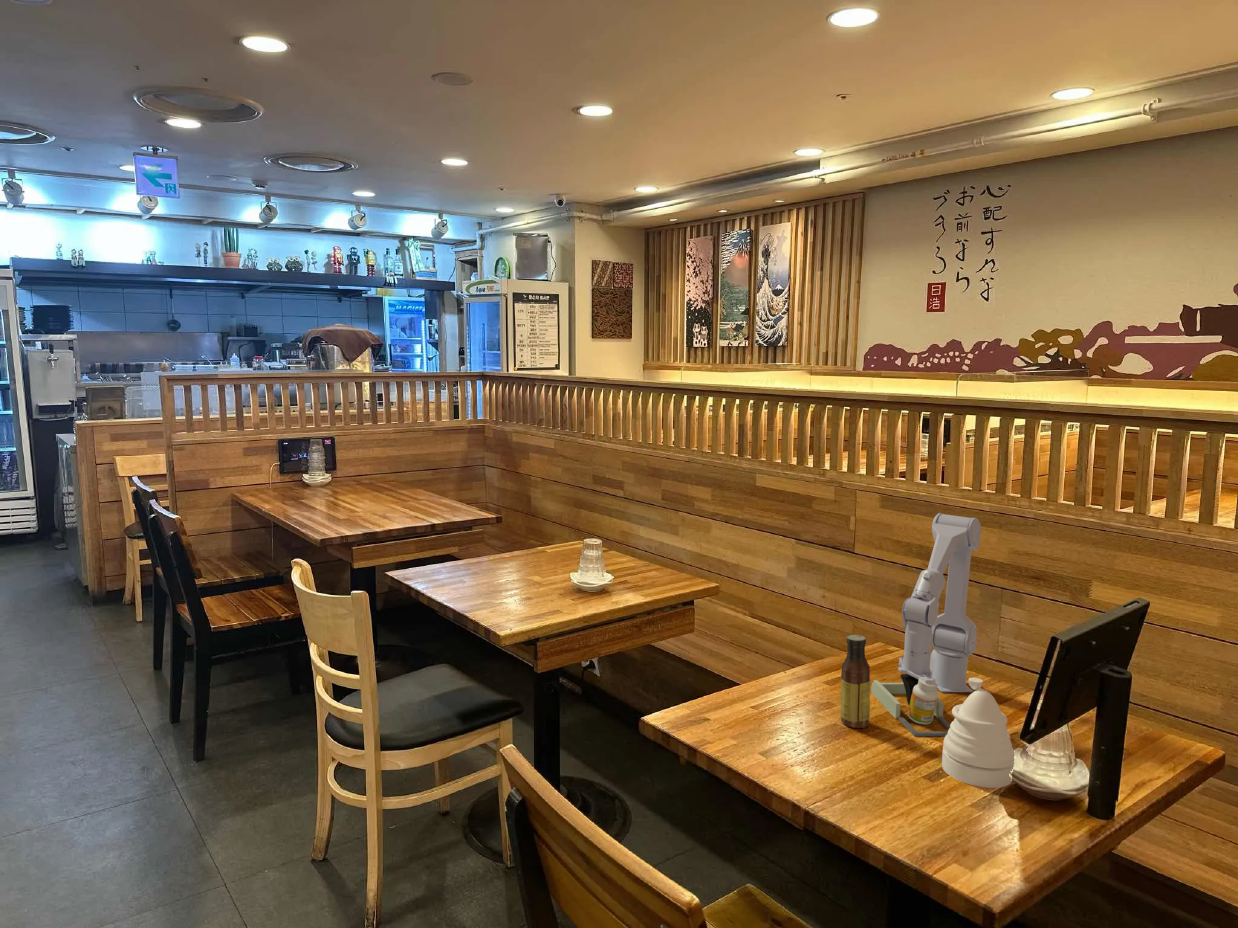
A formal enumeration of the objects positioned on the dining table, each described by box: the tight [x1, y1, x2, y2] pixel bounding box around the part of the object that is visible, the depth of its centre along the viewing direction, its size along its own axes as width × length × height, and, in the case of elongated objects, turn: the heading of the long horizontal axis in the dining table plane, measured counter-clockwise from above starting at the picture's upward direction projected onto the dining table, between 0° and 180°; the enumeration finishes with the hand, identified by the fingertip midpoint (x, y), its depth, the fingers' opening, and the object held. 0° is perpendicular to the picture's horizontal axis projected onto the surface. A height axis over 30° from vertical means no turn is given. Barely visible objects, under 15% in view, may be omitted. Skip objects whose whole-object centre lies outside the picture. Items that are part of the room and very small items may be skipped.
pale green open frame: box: [870, 679, 944, 720], centre depth 192 cm, size 15×11×4 cm
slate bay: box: [897, 716, 951, 737], centre depth 180 cm, size 8×10×1 cm
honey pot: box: [941, 677, 1015, 789], centre depth 160 cm, size 13×13×18 cm
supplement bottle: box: [907, 677, 939, 726], centre depth 182 cm, size 5×5×10 cm
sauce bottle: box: [840, 634, 871, 729], centre depth 180 cm, size 7×6×20 cm
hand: (913, 706), depth 188 cm, fingers closed
